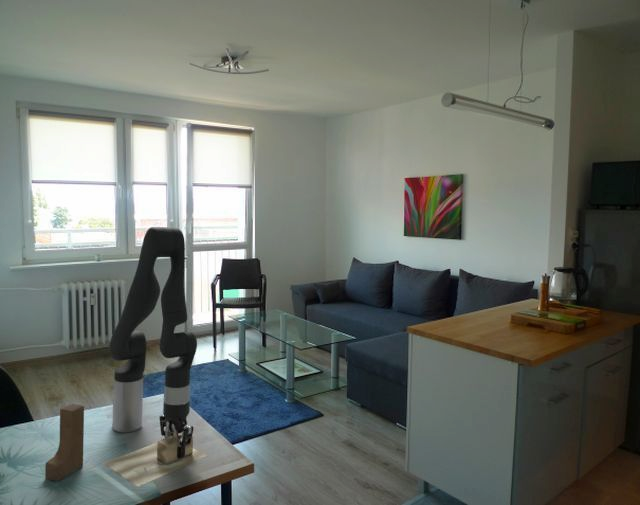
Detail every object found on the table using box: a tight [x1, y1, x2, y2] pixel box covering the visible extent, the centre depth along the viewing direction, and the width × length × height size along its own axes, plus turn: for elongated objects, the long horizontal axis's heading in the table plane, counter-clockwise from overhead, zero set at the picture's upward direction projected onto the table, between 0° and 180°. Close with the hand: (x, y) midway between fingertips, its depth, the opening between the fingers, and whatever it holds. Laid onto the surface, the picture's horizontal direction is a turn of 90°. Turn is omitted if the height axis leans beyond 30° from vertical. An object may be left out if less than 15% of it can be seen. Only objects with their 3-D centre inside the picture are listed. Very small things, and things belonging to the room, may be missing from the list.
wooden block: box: [44, 403, 85, 482], centre depth 131 cm, size 9×4×18 cm, turn 162°
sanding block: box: [156, 432, 194, 465], centre depth 141 cm, size 5×9×6 cm, turn 142°
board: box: [103, 442, 208, 488], centre depth 139 cm, size 18×23×1 cm
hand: (175, 454), depth 141 cm, fingers closed on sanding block, 5 cm apart
